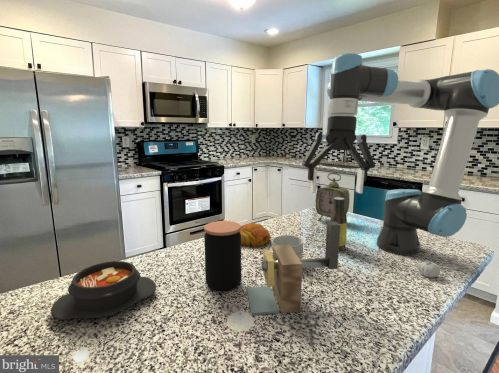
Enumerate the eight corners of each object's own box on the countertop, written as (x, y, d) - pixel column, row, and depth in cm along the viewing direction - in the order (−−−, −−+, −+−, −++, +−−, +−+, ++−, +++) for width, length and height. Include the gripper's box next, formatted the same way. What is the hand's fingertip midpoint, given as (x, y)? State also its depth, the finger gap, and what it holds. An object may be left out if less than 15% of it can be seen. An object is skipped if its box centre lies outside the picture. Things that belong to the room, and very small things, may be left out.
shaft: (333, 263, 80) (335, 221, 78) (337, 268, 77) (340, 225, 75) (261, 267, 78) (261, 224, 76) (262, 272, 75) (263, 228, 73)
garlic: (419, 278, 90) (421, 262, 89) (416, 270, 95) (418, 255, 94) (441, 281, 88) (444, 265, 87) (437, 273, 93) (439, 258, 92)
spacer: (268, 273, 81) (269, 249, 79) (273, 286, 74) (274, 261, 73) (263, 273, 80) (263, 250, 79) (267, 287, 74) (267, 261, 72)
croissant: (228, 245, 121) (225, 227, 119) (255, 232, 131) (253, 215, 129) (251, 255, 111) (249, 236, 109) (278, 240, 120) (277, 222, 118)
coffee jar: (246, 278, 90) (246, 222, 87) (233, 296, 80) (232, 234, 77) (215, 272, 93) (213, 219, 90) (199, 289, 83) (196, 230, 80)
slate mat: (270, 287, 84) (270, 285, 84) (279, 313, 73) (279, 310, 73) (246, 289, 84) (246, 287, 83) (251, 315, 72) (251, 312, 72)
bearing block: (288, 286, 85) (290, 244, 82) (300, 311, 73) (302, 263, 71) (272, 287, 84) (272, 245, 82) (281, 312, 73) (282, 264, 70)
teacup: (302, 270, 95) (303, 247, 94) (269, 266, 97) (269, 244, 96) (303, 252, 109) (303, 232, 107) (274, 250, 111) (274, 230, 109)
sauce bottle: (348, 247, 113) (352, 198, 109) (340, 252, 109) (343, 201, 105) (333, 243, 118) (336, 195, 114) (325, 247, 113) (328, 198, 110)
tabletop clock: (314, 220, 147) (316, 172, 142) (322, 216, 154) (325, 170, 149) (342, 227, 138) (345, 175, 133) (349, 222, 145) (352, 173, 140)
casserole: (48, 340, 63) (43, 305, 62) (54, 298, 79) (50, 269, 77) (163, 306, 76) (162, 276, 74) (149, 275, 91) (147, 250, 90)
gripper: (301, 113, 74) (296, 194, 78) (393, 116, 76) (384, 195, 80) (294, 115, 81) (290, 189, 85) (379, 118, 83) (371, 190, 87)
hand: (336, 192), depth 83 cm, fingers open, 13 cm apart
